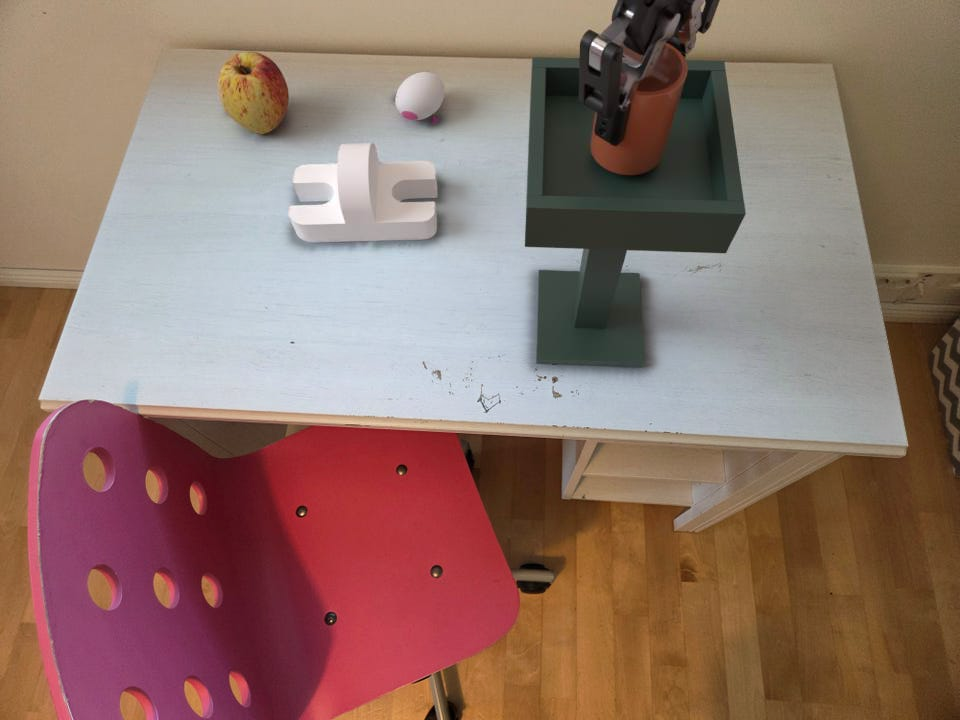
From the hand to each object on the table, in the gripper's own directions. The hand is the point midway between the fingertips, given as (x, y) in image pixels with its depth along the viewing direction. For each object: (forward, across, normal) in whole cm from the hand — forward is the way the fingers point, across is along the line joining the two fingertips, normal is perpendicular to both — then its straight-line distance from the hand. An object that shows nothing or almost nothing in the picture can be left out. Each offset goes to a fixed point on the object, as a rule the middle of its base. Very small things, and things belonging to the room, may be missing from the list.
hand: (635, 113), depth 53 cm
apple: (+32, -5, +54) cm, 63 cm away
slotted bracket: (+32, -6, +32) cm, 45 cm away
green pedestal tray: (+32, 0, 0) cm, 32 cm away
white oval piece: (+32, +11, +39) cm, 51 cm away
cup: (+4, 0, 0) cm, 4 cm away
